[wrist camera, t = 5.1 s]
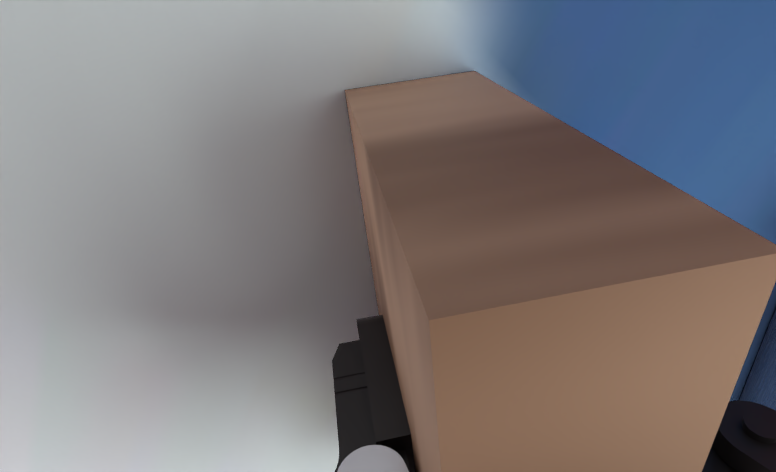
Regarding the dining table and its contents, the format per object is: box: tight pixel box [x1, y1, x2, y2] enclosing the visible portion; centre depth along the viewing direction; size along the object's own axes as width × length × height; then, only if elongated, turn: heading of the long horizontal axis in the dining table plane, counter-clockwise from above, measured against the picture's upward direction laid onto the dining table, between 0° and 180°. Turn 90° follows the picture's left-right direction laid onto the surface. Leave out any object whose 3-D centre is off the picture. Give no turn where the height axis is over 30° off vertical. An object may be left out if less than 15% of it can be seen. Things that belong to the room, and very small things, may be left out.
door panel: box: [345, 71, 776, 472], centre depth 10 cm, size 12×3×8 cm, turn 6°
